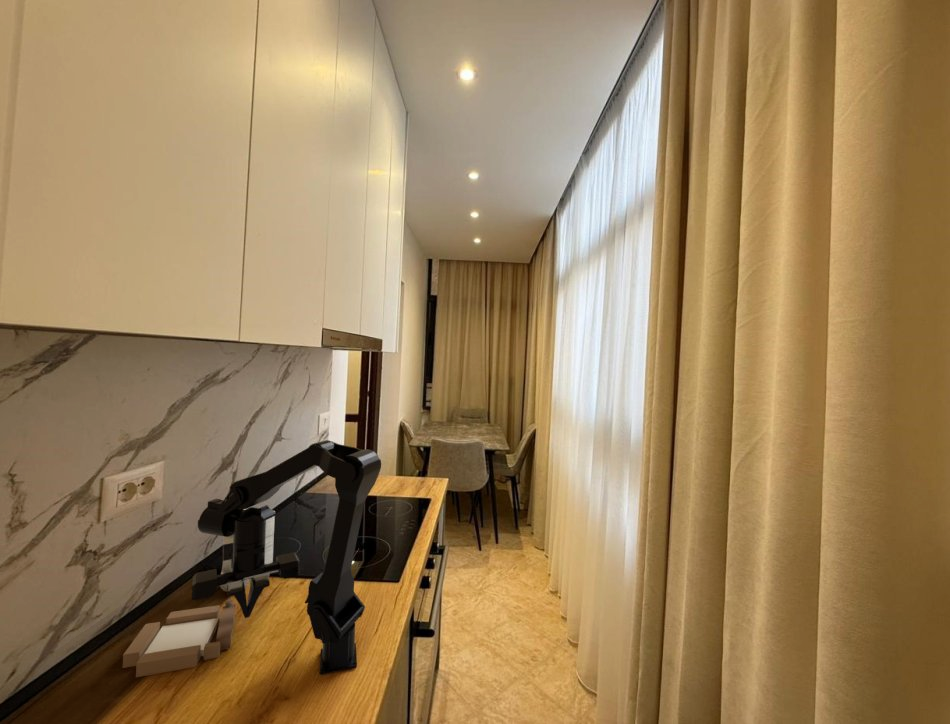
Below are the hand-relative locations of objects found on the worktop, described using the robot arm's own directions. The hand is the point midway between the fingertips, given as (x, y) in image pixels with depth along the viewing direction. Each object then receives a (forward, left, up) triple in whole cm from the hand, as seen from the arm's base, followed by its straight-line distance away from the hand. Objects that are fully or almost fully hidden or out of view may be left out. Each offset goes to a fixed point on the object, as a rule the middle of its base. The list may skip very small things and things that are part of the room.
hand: (247, 616), depth 82 cm
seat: (+1, +11, -4) cm, 12 cm away
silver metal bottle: (+20, +6, -4) cm, 22 cm away
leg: (+3, +4, -4) cm, 6 cm away
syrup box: (+31, +3, -4) cm, 32 cm away
